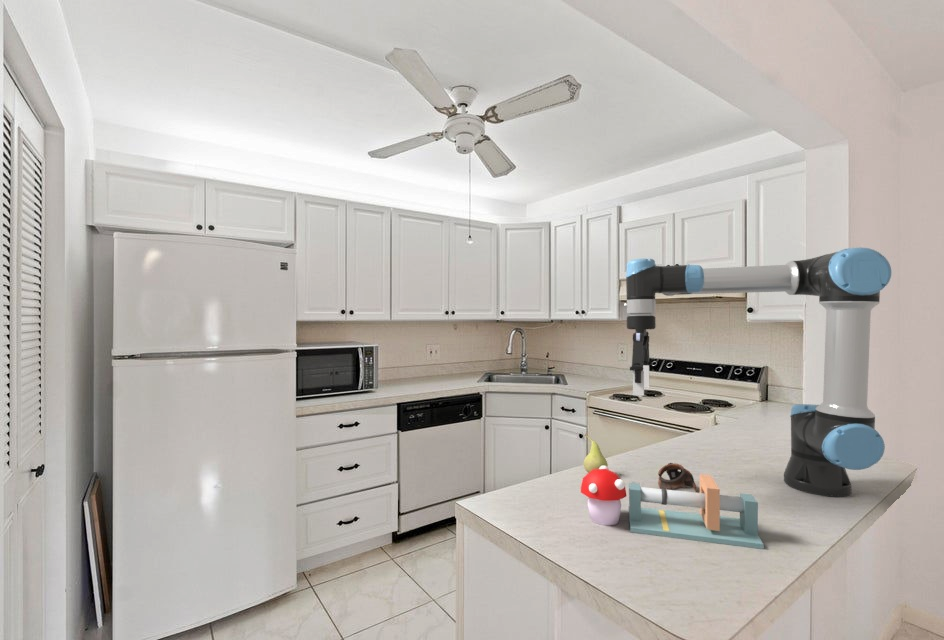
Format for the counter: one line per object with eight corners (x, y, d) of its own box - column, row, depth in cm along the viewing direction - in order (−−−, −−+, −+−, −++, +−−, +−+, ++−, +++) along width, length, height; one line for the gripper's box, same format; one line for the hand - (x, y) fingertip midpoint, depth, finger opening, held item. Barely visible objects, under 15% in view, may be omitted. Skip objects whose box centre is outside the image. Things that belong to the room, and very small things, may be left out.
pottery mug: (705, 499, 120) (694, 474, 119) (672, 512, 122) (659, 488, 120) (688, 472, 132) (677, 450, 130) (657, 484, 134) (646, 462, 132)
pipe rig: (746, 523, 105) (746, 488, 105) (763, 549, 93) (763, 509, 93) (628, 509, 113) (628, 477, 112) (630, 532, 101) (630, 495, 101)
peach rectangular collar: (710, 513, 106) (710, 475, 106) (719, 531, 97) (719, 489, 97) (699, 512, 106) (699, 474, 106) (707, 529, 98) (707, 488, 98)
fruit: (599, 481, 132) (599, 440, 132) (577, 474, 138) (577, 435, 138) (611, 475, 137) (611, 436, 136) (590, 469, 142) (590, 431, 142)
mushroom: (620, 534, 100) (620, 480, 100) (573, 522, 106) (573, 471, 106) (631, 515, 109) (631, 466, 109) (587, 506, 115) (587, 459, 115)
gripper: (632, 315, 138) (633, 384, 139) (619, 315, 116) (620, 397, 116) (659, 314, 135) (659, 385, 135) (650, 315, 113) (651, 399, 113)
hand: (641, 391), depth 126 cm, fingers open, 13 cm apart
